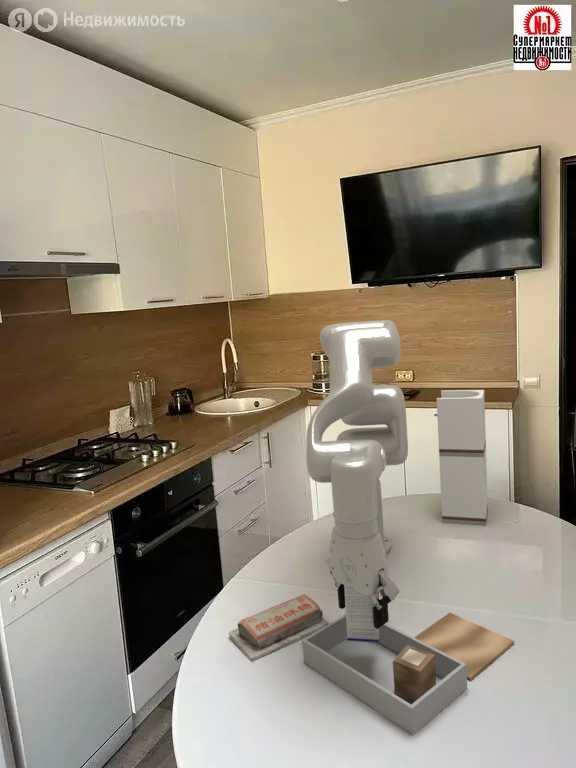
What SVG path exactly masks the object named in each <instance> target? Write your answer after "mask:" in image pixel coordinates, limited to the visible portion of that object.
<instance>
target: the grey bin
mask: <svg viewBox="0 0 576 768" xmlns="http://www.w3.org/2000/svg"><path fill="white" fill-rule="evenodd" d="M414 637H415V636H412V635H410V634H408V633H406V632H404V631H402V630H400V629H399V628H396V627H394V626H392V625H390V624H388V623H385V624H384V625H383V626H381V627H380V628H379V642H377V643H378V644H380V645H382V646H383V647H385V646H386V648H387V649H389V650H391V651H393V652H394V653H397V655H398V654H399V653H400V652H401V651H402V650H403V649H404V648H405V647H406V646H407V645H410V646H413V647H415V648H418V649H421V650H424V651H426V652H429V653H432V654H434V655H435V668H436V676H439V677H440V678H442V679H441V680H439V682H436V685H435V686H434V687H432V688H431V689H430V690H429V691H427V692H426V693H425V694H424V695H423V696H421V697H420V698H419V699H418V700H416V701H415V702H414V703H413V704H409V703H408V702H406V701H405V700H403V699H401V698H400V697H398V696H396V695H395V693H394V692H392V691H390V690H389V689H386V688H385V687H384V686H382V685H380V684H379V683H377V682H375V681H374V680H372V679H371V678H369V677H367V676H366V675H364V674H362V673H361V672H359V671H358V670H355V668H353V667H351V666H349V665H347V664H346V663H345V662H343V661H341V660H339V659H338V658H336V657H335V656H333V655H332V654H330V653H329V652H327V651H329V650H330V649H332V648H333V647H334V646H336V645H338V644H339V643H341V642H342V641H344V640H345V639H346V640H347V627H346V613H345V614H343V615H341V616H339V618H337V619H335V620H333V621H331V622H329V624H328V625H326V626H325V627H323V628H321V629H320V630H318V631H316V632H315V633H313V634H311V635H309V636H307V637H305V638H303V639H301V644H302V655H303V663H305V664H306V665H308V666H309V667H311V668H312V669H314V670H315V671H316V672H318V673H320V674H321V675H323V676H324V677H325V678H327V679H329V680H330V681H331V682H333V683H334V684H336V685H338V686H339V687H341V688H342V689H344V690H345V691H347V692H348V693H350V694H351V695H353V696H354V697H356V698H357V699H359V700H360V701H362V702H363V703H365V704H366V705H368V706H369V707H371V708H372V709H373V710H375V711H376V712H378V713H380V714H381V715H382V716H384V717H386V718H387V719H389V720H390V721H392V722H394V723H395V724H397V725H398V726H399V727H401V728H403V729H404V731H407V732H408V733H410V734H412V735H415V734H416V733H417V732H418V731H420V730H421V729H422V728H423V727H425V726H426V725H427V724H428V723H429V722H430V721H431V720H432V719H434V718H435V717H436V716H437V715H438V714H439V713H441V712H442V711H443V710H444V709H445V708H447V707H448V706H449V705H450V704H451V703H452V702H453V701H454V700H456V699H457V698H458V697H459V696H460V695H462V693H464V692H465V691H466V690H468V679H467V668H466V664H465V663H463V662H461V661H459V660H457V659H455V658H453V657H451V656H449V655H447V654H445V653H443V652H442V651H440V650H438V649H436V648H434V647H432V646H430V645H428V644H426V643H424V642H422V641H420V640H418V639H416V638H414Z"/></svg>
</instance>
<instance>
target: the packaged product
mask: <svg viewBox="0 0 576 768" xmlns="http://www.w3.org/2000/svg"><path fill="white" fill-rule="evenodd" d="M323 613H324V612H323V611H322V609H321V608H320V605H319V604H318V602H316V601H315V600H313V599H312V598H311V597H310V596H309V595H307V594H302V595H299V596H296V597H294V598H292V599H289V600H287V601H284V602H281V603H279V604H277V605H274V606H272V607H270V608H268V609H265V610H263V611H260V612H257V613H256V614H253V615H251V616H248V617H246V618H243V619H241V620H239V621H238V623H237V628H235V629H233V630H230V631H229V632H228V636H229V637H230V639H231V641H232V642H233V643H234V645H236V646H237V648H238V649H239V650H240V649H241V650H240V651H241V652H242V654H244V655H245V657H247V659H249V660H250V661H251V662H254V661H257V660H259V659H262V658H263V657H266V656H267V655H268V654H271V653H273V652H276V651H278V650H281V649H283V648H285V647H288V646H289V645H293V644H295V643H297V642H299V641H302V640H303V639H305V638H306V637H308V636H310V635H311V634H313V633H315V632H316V631H318V630H320V629H321V628H323V627H325V626H326V625H328V624H330V622H328V621H327V620H326V619H324V618H323V615H324V614H323ZM261 657H262V658H261Z"/></svg>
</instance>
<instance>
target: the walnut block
mask: <svg viewBox="0 0 576 768" xmlns="http://www.w3.org/2000/svg"><path fill="white" fill-rule="evenodd" d="M392 670H393V671H392V673H393V674H392V675H393V686H394V694H395V695H396V696H398V697H400V698H401V699H403V700H405V701H406V702H408V703H409V704H413V703H414V702H415V701H416V700H418V699H419V698H420V697H421V696H423V695H424V694H425V693H426V692H427V691H429V690H430V689H431V688H432V687H434V686H435V685H436V684H437V674H436V668H435V655H434V654H432V653H429V652H426V651H424V650H421V649H418V648H415V647H413V646H410V645H407V646H406V647H405V648H404V649H403V650H402V651H401V652H400V653H399V654H398V653H397V654H396V656H395V658H394V659H392Z"/></svg>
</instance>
